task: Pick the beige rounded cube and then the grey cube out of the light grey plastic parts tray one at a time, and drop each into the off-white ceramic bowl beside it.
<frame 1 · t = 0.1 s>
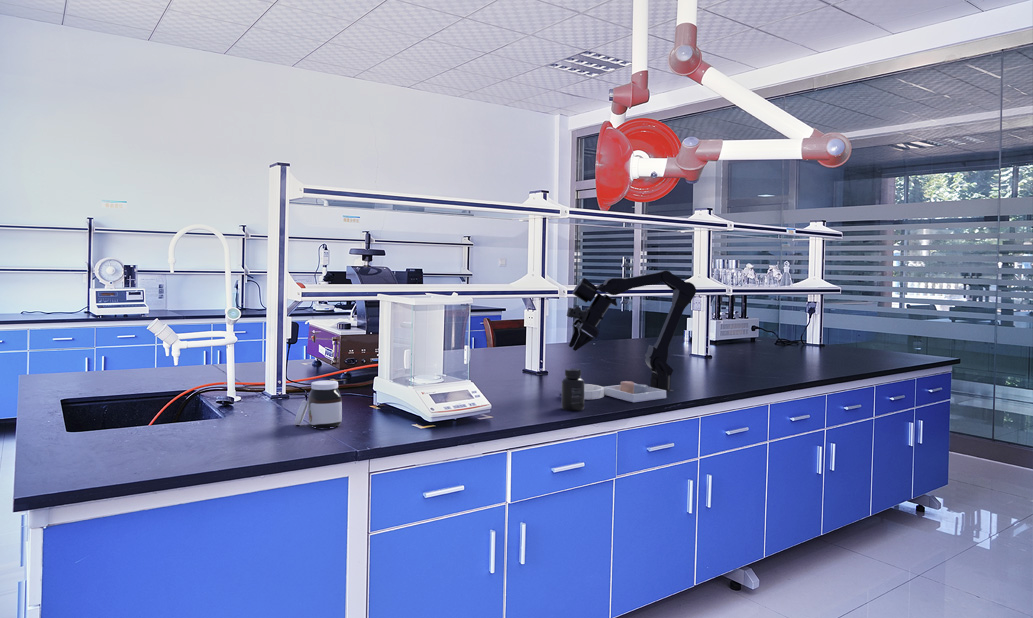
hand: (571, 348, 227), 15 cm above the countertop, tool tilted 35°, fingers open, 9 cm apart
supplement bottle: (572, 409, 199), on the countertop
parts tray: (633, 397, 218), on the countertop
grey cube: (640, 397, 215), point 1 cm above the countertop, touching parts tray
beige rounded cube: (627, 394, 220), point 1 cm above the countertop, touching parts tray
bowl: (583, 397, 218), on the countertop
spread jar: (317, 427, 175), on the countertop
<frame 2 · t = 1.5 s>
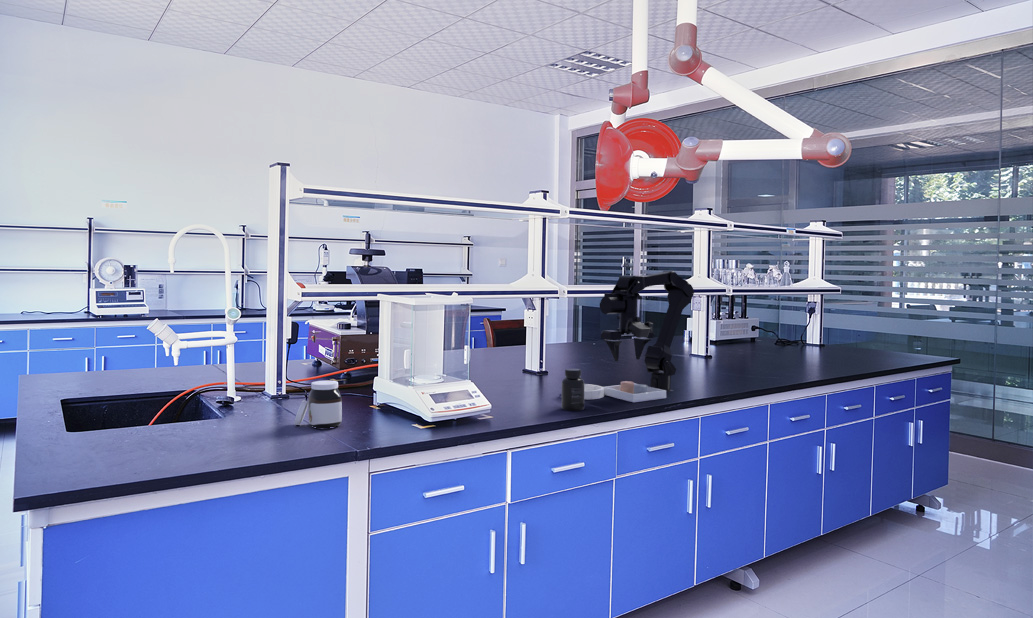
hand: (627, 360, 220), 12 cm above the countertop, tool pointing down, fingers open, 9 cm apart
nothing on the countertop moved.
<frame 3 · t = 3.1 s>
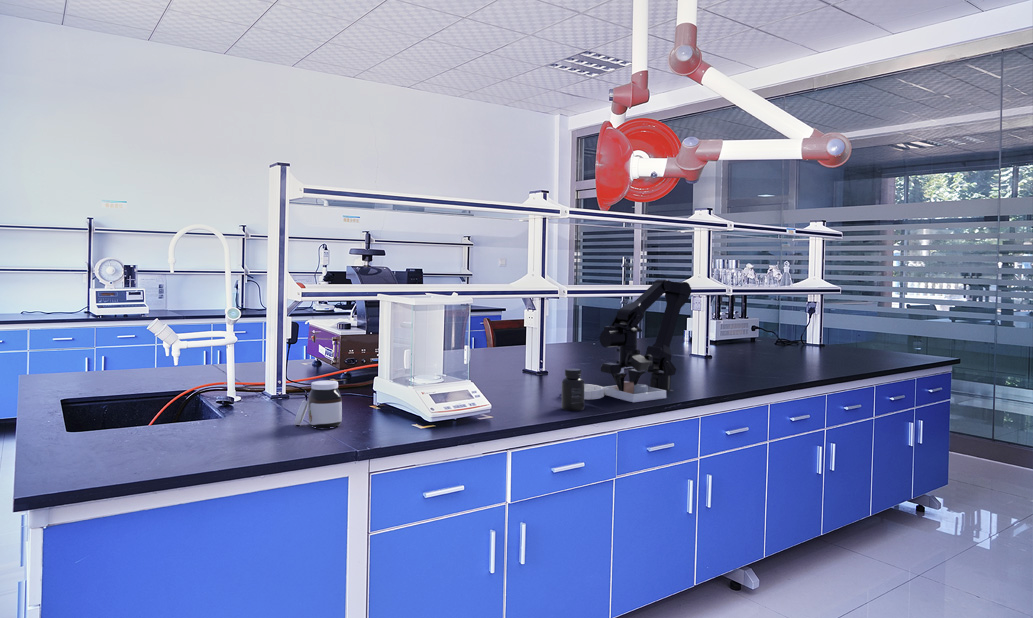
hand: (627, 392, 220), 1 cm above the countertop, tool pointing down, fingers closed on beige rounded cube, 4 cm apart
beige rounded cube: (627, 394, 220), point 1 cm above the countertop, touching gripper, parts tray
everything else where it was.
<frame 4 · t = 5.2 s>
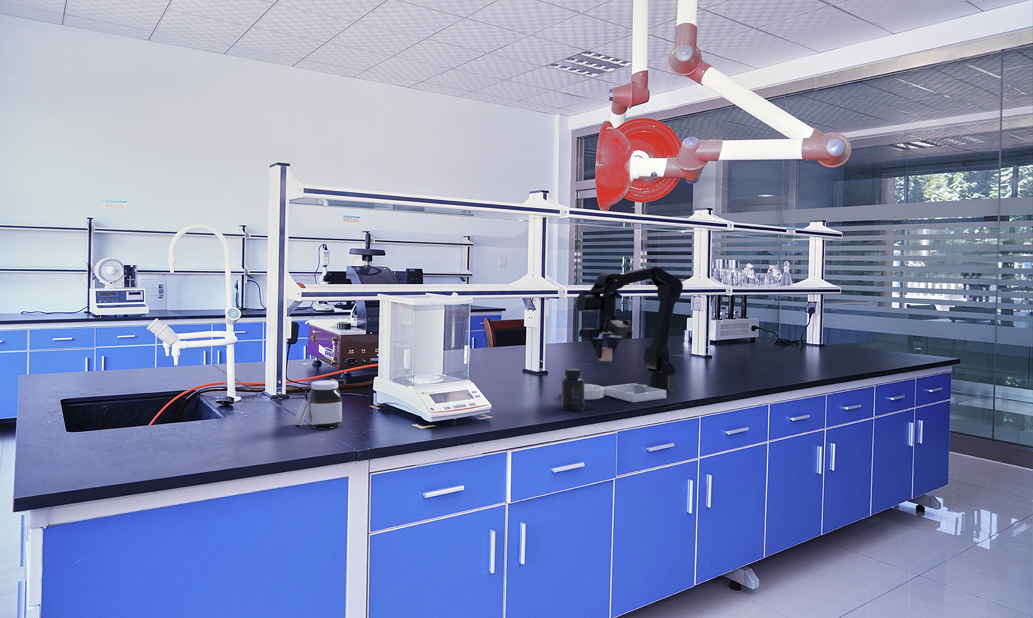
hand: (605, 358, 219), 13 cm above the countertop, tool pointing down, fingers closed on beige rounded cube, 4 cm apart
beige rounded cube: (605, 360, 219), point 12 cm above the countertop, touching gripper
everything else where it was.
when the fingers open (4 cm above the countertop, at t = 7.6 s): beige rounded cube drops 3 cm, resting on bowl.
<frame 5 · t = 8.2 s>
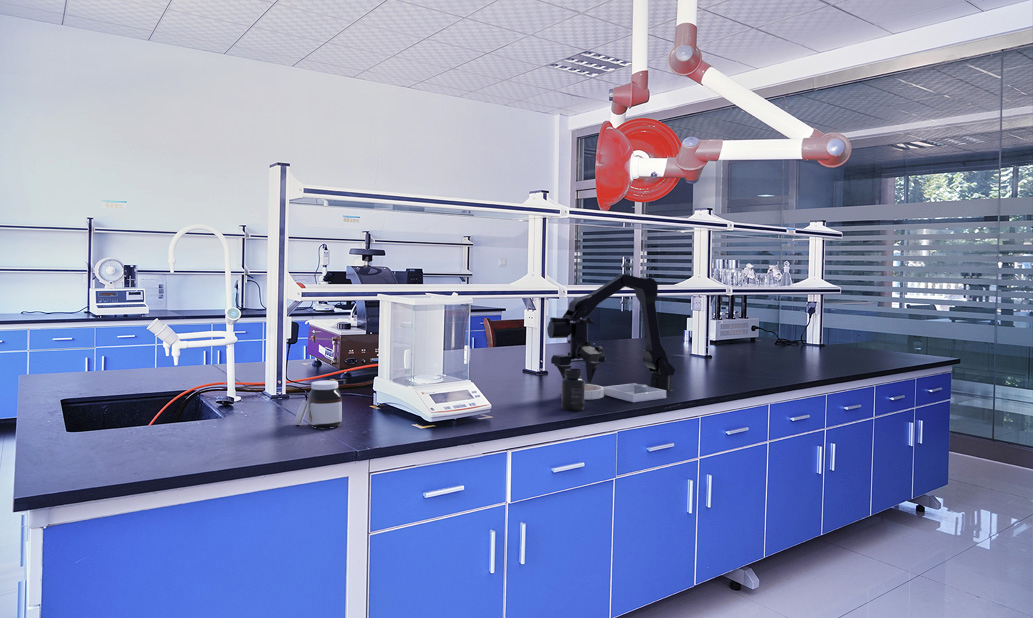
hand: (578, 384, 220), 4 cm above the countertop, tool pointing down, fingers open, 9 cm apart
beige rounded cube: (578, 393, 220), point 1 cm above the countertop, touching bowl
everything else where it was.
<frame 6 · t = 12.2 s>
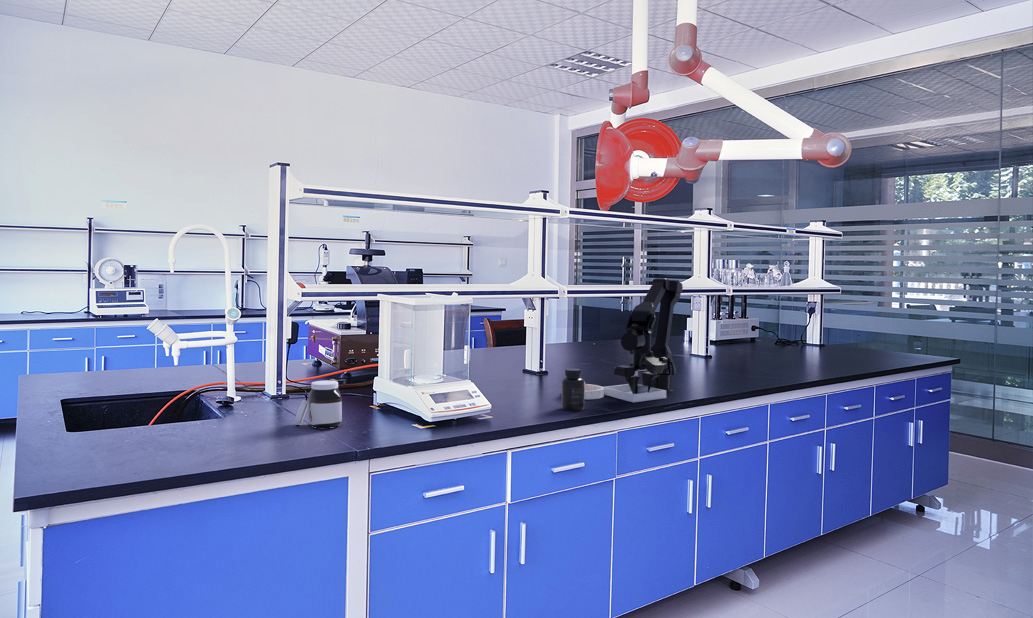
hand: (640, 395, 215), 1 cm above the countertop, tool pointing down, fingers closed on grey cube, 4 cm apart
grey cube: (640, 397, 215), point 1 cm above the countertop, touching gripper, parts tray
everything else where it was.
when the fingers open (4 cm above the countertop, at t = 16.5 s): grey cube drops 3 cm, resting on bowl.
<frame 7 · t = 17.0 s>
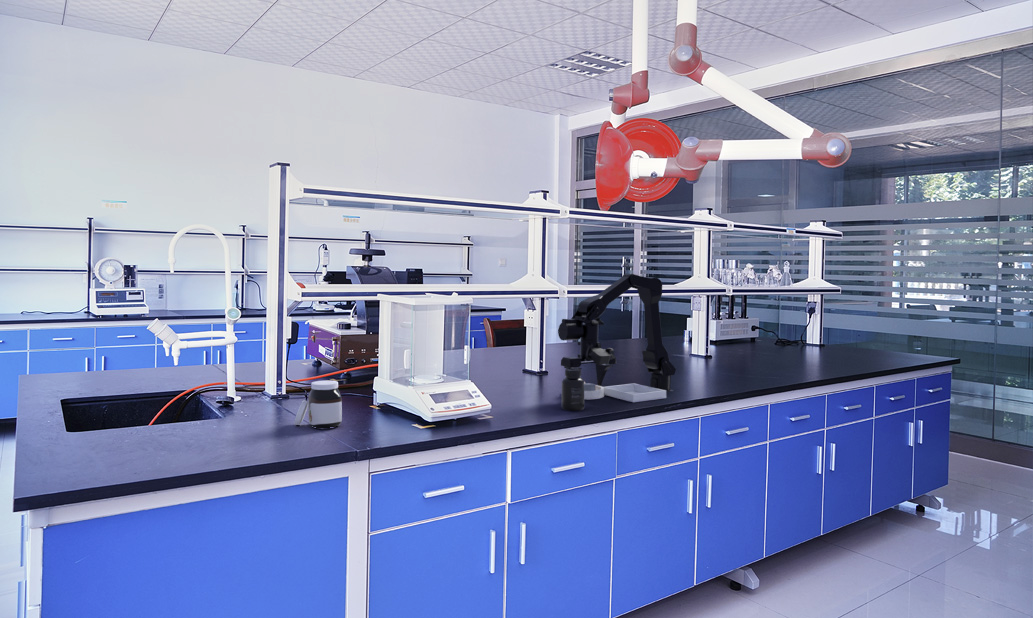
hand: (588, 387, 215), 4 cm above the countertop, tool pointing down, fingers open, 9 cm apart
grey cube: (588, 396, 215), point 1 cm above the countertop, touching bowl
everything else where it was.
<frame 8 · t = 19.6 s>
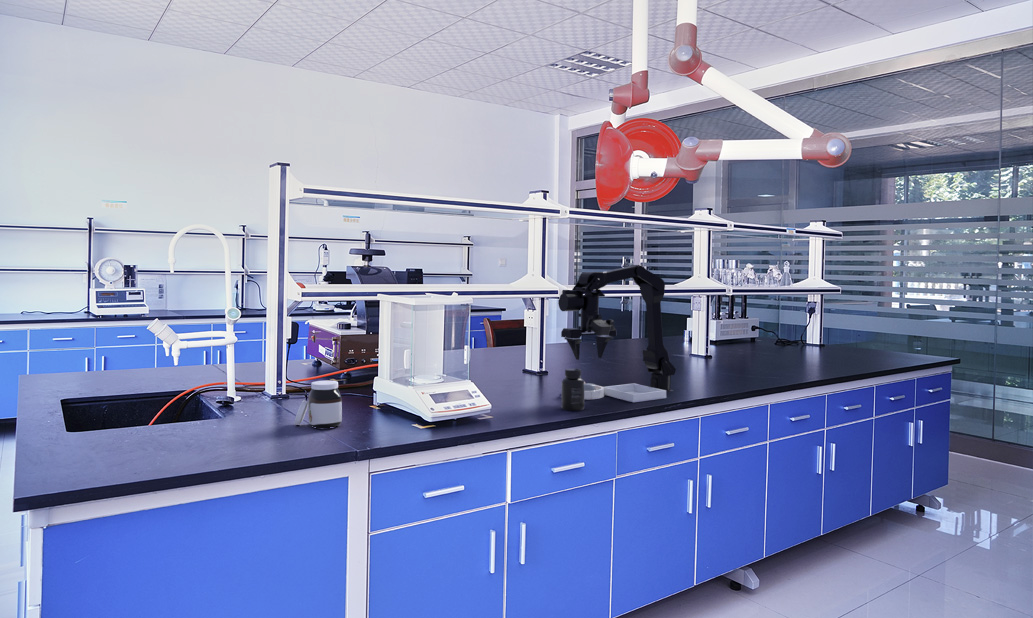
hand: (588, 358, 215), 13 cm above the countertop, tool pointing down, fingers open, 9 cm apart
nothing on the countertop moved.
at the end: beige rounded cube inside the target area on the bowl (2.6 cm from its centre), point 0.6 cm above the bowl's base; grey cube inside the target area on the bowl (2.8 cm from its centre), point 0.6 cm above the bowl's base; the gripper is holding nothing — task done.
